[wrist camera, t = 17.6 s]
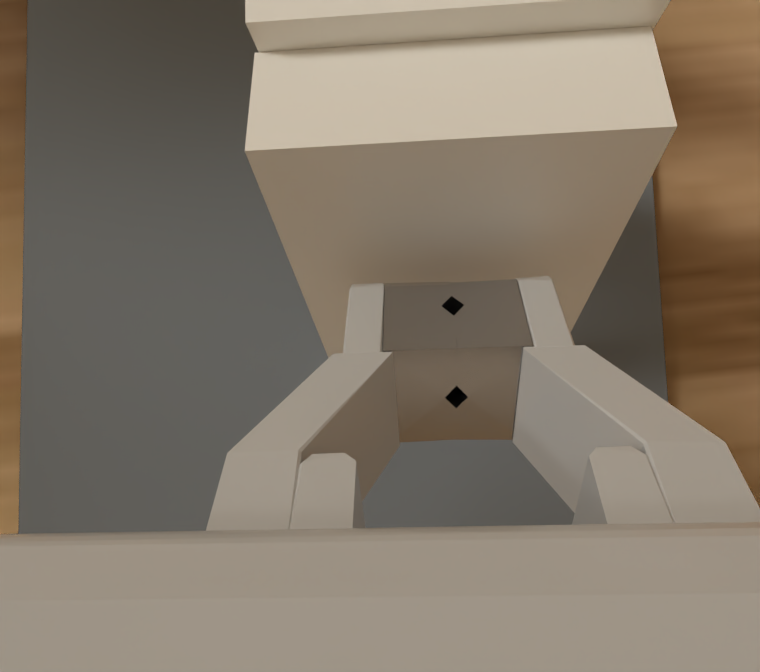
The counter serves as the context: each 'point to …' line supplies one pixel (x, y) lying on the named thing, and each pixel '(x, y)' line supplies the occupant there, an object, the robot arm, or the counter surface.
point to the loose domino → (456, 159)
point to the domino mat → (209, 290)
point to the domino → (431, 20)
